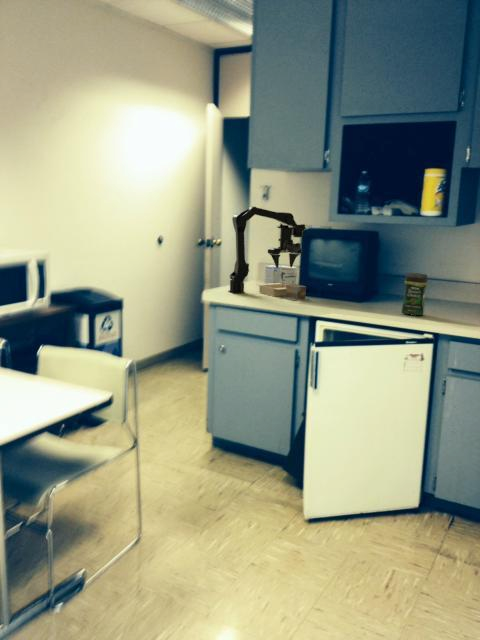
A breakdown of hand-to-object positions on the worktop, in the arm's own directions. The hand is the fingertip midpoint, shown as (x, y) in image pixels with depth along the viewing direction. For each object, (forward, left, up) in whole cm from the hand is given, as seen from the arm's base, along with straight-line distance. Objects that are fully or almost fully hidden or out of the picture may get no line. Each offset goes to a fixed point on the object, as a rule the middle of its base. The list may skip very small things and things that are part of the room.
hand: (284, 267), depth 324 cm
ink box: (+12, +11, -13) cm, 21 cm away
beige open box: (-6, -3, -13) cm, 15 cm away
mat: (-7, -19, -13) cm, 24 cm away
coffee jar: (+16, -73, -13) cm, 76 cm away
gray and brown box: (-7, -19, -13) cm, 24 cm away
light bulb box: (+13, +24, -13) cm, 30 cm away
